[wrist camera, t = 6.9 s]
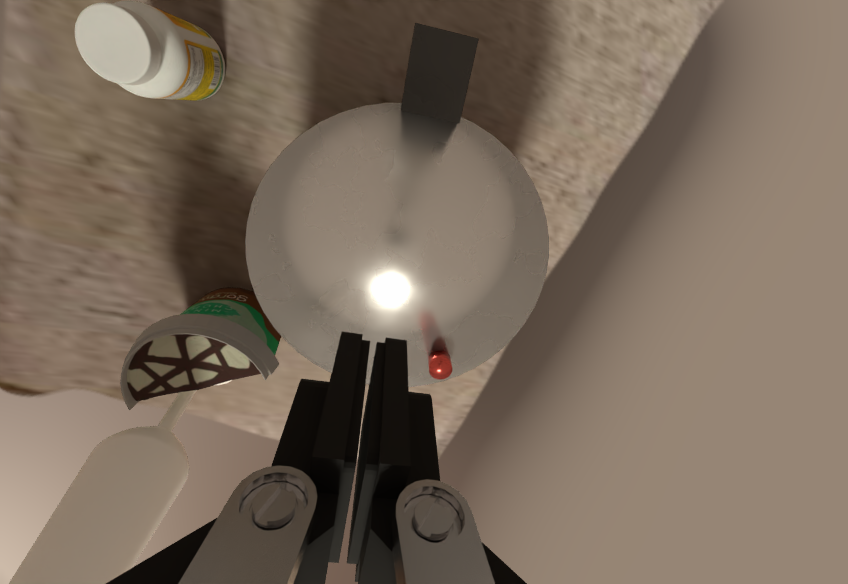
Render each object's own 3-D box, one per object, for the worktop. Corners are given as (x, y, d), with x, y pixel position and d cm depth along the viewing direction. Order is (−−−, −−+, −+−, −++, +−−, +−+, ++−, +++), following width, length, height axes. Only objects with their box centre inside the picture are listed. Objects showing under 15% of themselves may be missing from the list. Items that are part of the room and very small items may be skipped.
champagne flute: (161, 337, 41) (-82, 623, 20) (229, 328, 41) (60, 605, 20) (186, 389, 44) (0, 683, 23) (250, 381, 44) (122, 667, 23)
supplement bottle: (240, 82, 33) (183, 73, 24) (183, 112, 34) (107, 114, 25) (198, 8, 31) (119, -32, 22) (138, 41, 31) (38, 15, 23)
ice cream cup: (278, 262, 39) (241, 309, 30) (300, 319, 42) (272, 378, 32) (153, 291, 40) (79, 346, 30) (182, 345, 42) (122, 411, 33)
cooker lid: (259, -11, 21) (242, -23, 19) (608, 76, 23) (630, 74, 21) (247, 358, 30) (236, 378, 28) (497, 392, 33) (504, 413, 31)
